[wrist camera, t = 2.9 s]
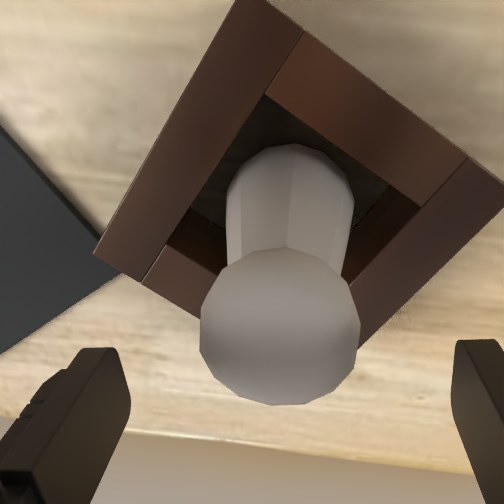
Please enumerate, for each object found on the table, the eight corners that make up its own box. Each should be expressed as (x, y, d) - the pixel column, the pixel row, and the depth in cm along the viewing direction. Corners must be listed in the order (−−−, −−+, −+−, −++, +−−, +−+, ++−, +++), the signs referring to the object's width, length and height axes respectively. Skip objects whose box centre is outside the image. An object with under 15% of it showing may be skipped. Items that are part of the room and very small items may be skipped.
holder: (126, 216, 24) (91, 254, 20) (257, -8, 19) (244, -17, 15) (314, 335, 27) (316, 390, 23) (478, 162, 21) (519, 193, 17)
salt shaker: (339, 249, 24) (373, 458, 12) (231, 239, 24) (164, 432, 13) (357, 137, 21) (420, 268, 10) (236, 127, 22) (157, 242, 10)
